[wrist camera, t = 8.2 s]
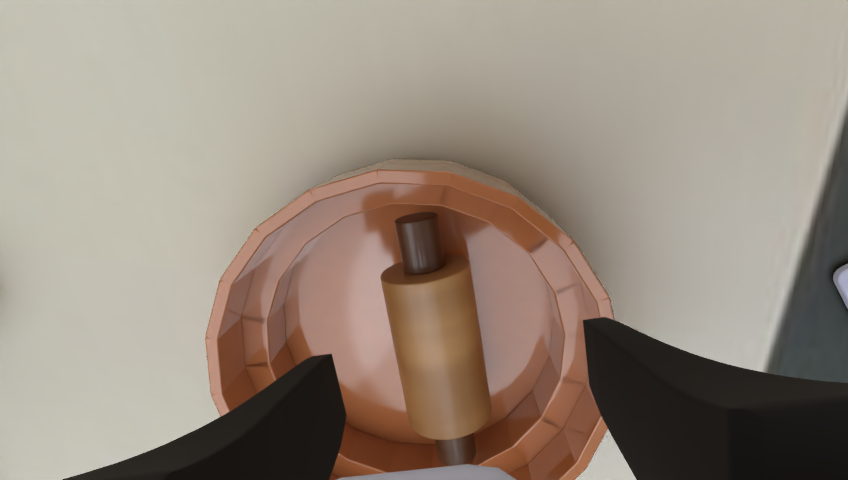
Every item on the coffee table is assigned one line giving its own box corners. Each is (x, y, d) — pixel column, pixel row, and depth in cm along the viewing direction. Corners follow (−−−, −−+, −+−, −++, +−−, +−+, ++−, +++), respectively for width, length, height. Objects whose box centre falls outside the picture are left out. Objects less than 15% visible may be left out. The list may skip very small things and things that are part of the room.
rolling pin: (465, 417, 24) (515, 454, 21) (402, 453, 23) (447, 499, 19) (429, 203, 22) (480, 208, 19) (354, 224, 20) (397, 234, 17)
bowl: (644, 367, 23) (696, 433, 18) (380, 508, 26) (364, 597, 21) (465, 85, 20) (469, 74, 15) (191, 279, 23) (123, 321, 18)
